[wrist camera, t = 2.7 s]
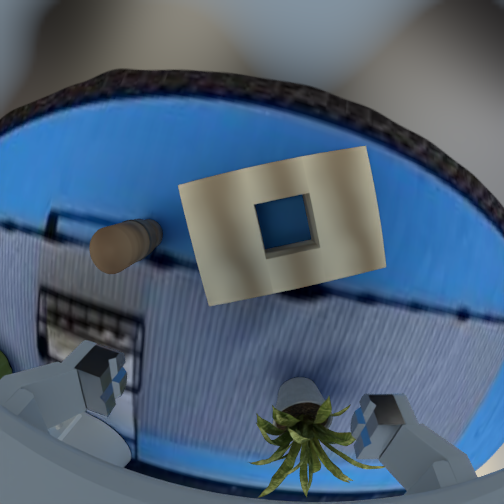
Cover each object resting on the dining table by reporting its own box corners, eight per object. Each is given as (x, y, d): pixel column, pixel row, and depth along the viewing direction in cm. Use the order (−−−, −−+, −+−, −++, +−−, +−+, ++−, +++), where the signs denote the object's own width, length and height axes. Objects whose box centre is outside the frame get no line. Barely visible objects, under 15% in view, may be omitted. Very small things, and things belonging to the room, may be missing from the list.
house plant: (363, 337, 35) (416, 421, 19) (353, 417, 38) (383, 501, 22) (249, 348, 36) (242, 446, 20) (256, 427, 38) (254, 519, 22)
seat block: (215, 290, 34) (209, 306, 29) (189, 186, 32) (177, 185, 27) (369, 256, 33) (386, 266, 28) (350, 151, 31) (365, 145, 26)
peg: (137, 255, 34) (96, 279, 24) (128, 220, 33) (83, 232, 23) (170, 247, 33) (136, 269, 24) (160, 211, 33) (123, 220, 23)
